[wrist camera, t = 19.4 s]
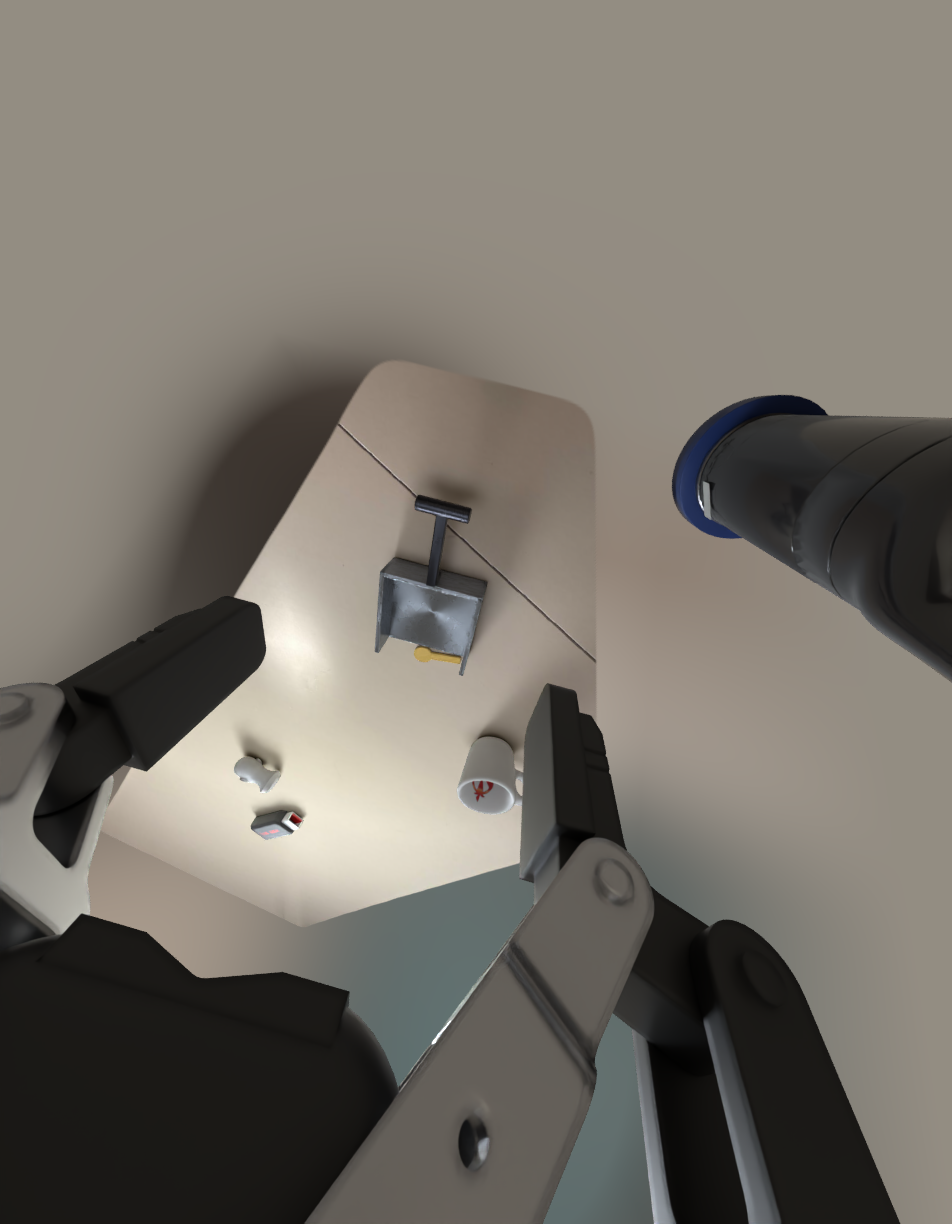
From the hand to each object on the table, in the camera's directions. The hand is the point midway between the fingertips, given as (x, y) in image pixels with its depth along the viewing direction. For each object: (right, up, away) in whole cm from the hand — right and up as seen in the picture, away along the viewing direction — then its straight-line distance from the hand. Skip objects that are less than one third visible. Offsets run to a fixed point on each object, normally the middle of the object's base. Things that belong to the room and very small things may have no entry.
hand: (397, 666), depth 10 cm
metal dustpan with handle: (-2, +5, +30) cm, 31 cm away
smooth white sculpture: (-38, -27, +56) cm, 73 cm away
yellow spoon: (-3, -4, +36) cm, 36 cm away
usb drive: (-40, -44, +66) cm, 89 cm away
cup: (+6, -20, +44) cm, 48 cm away
